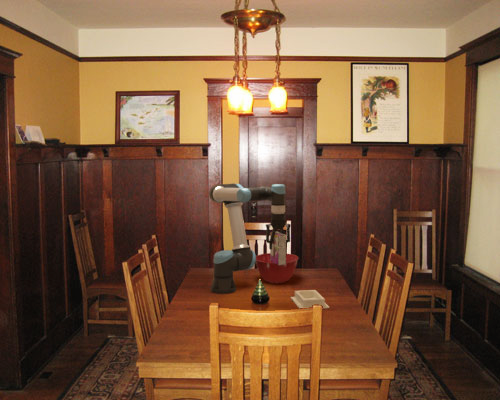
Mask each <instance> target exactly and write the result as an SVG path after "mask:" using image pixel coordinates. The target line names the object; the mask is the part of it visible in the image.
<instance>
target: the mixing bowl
mask: <svg viewBox="0 0 500 400" xmlns="http://www.w3.org/2000/svg"><path fill="white" fill-rule="evenodd" d="M298 260H299V256H297V255H296V254H292V253H286V265H277V264H275V263H273V262H272V261H270V252H269V253H268V252H267V253H261V254H260V253H259V254H258V255H256V262H255V266H256V267H257V270H258V272H259V275H260V276H261V278H262V279H263V280H264V281H265V282H266V283H270V284H284V283H287V281H289V280H290V279H291V278H292V277H293V275H294V272H295V270H296V269H297V266H298V265H297V264H298Z"/></svg>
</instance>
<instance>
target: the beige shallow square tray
mask: <svg viewBox="0 0 500 400" xmlns="http://www.w3.org/2000/svg"><path fill="white" fill-rule="evenodd" d="M290 299H291V301H292V302H293V303H294V304H295V305H296V306H297V308H298V309H299V310H300V308H309V307H312V305H314V304H319V305H322V306H323V308H322V309H330V306H329V305H328V304H327V303H326V299H325V298H324V296H322V295H321V294H320V293H319V292H318V291H317V290H316V289H308V290H305V289H304V290H294V296H290Z"/></svg>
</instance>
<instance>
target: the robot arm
mask: <svg viewBox="0 0 500 400" xmlns="http://www.w3.org/2000/svg"><path fill="white" fill-rule="evenodd" d="M208 195H209V198H210V200H211V202H213V203H217V204H224V207H225V208H226V209H227V213H228V214H227V215H228V219H229V221H228V222H229V225H230V231H231V238H232V244H233V247H232V248H231V250H230V249H226V250H220V251H217V252H215V253H214V255H213V260H212V261H213V279H212V282H211V286H210V291H211V292H212V293H215V294H221V295H222V294H223V295H224V294H227V295H228V294H232V293H235V292H236V291H237V286H236V283H235V279H234V272H241V271H248V270H251V269H253V268H254V267H255V266H256V256H257V255H256V252H255V250H253V249H251V245H248V241H247V234H246V229H245V228H246V227H245V221H244V216H243V209H242V206H243V204H244V203H250V202H263V201H264V202H265V201H269V202H271V203H270V204H271V211H270V212H271V216H270V218H271V219H270V223H268V224H267V223H266V224H265V227H266V234H265V242H266V243H268V245H269V246H268V249H269V250H271V255H272V256H273V253H274V244H273V243H272V242H273V239H274V235H275V232H277V231H279V232H280V233H282V234H285V231H284V228H285V227H286V234H285V235H286V250H287V249H288V248H287V247H288V243H290V242H291V232H290V231H291V224H290V223H287V222H286V185H285V184H283V183H282V184H280V183H279V184H278V183H275V184H271V187H270V186H260V187H243V185H242V184H240V183H224V184H223V183H221V184H219V183H218V184H214V185H213V186H212V187H211V188H210V189H209V193H208ZM271 227H272V231H271V230H270V228H271ZM270 232H272V234H271V237H270Z"/></svg>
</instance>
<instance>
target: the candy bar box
mask: <svg viewBox="0 0 500 400" xmlns="http://www.w3.org/2000/svg"><path fill="white" fill-rule="evenodd" d="M271 234H272V231H270V232H269V238H270V237H271ZM286 240H287V234H282V233H281V231H276V232H275V235H274V239H273V242H272V243H273V244H274V253H273V256H272V255H271V250H270V249H269V250H270V252H269V253H270V261H272V262H273V263H275V264H277V265H286V254H287V249H286Z"/></svg>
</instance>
